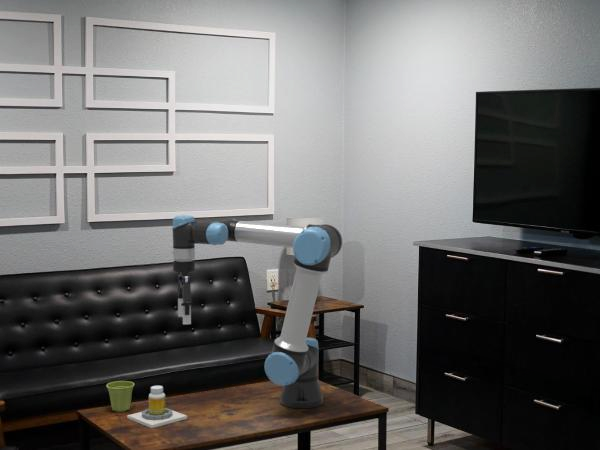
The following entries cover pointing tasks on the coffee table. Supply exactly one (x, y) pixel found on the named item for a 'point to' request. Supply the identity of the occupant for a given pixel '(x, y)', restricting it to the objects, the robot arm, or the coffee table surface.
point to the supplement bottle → (156, 401)
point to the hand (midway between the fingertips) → (184, 320)
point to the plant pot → (120, 395)
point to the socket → (156, 418)
